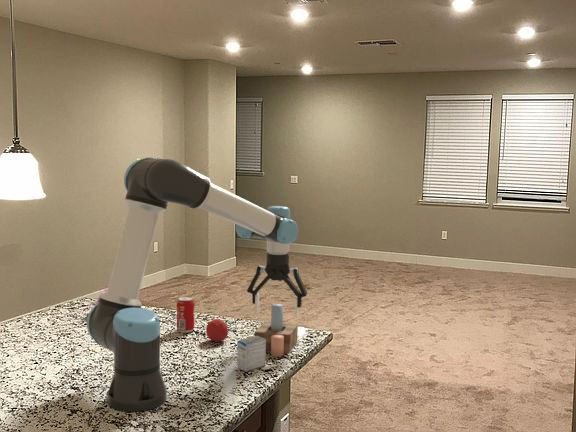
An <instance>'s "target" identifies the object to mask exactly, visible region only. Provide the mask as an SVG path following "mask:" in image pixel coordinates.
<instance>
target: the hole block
mask: <svg viewBox="0 0 576 432" xmlns="http://www.w3.org/2000/svg"><path fill="white" fill-rule="evenodd" d="M298 326H299V325H298V324H294V323H293V324H292V323H291V324H290V323H283V331H275V330H271V321H269V322H267V321H264V322H262V324H261V325H259V327H258V328H257V329H256V330H255V331H254V336H259V337H262V338H264V339H266V351H270V352H271V336H273V335H282V336H284V351H283V353H288V354H289V353H291V352H292V350H293V349H294V348H295V346H296V344H297V343H298V332H299V331H298Z"/></svg>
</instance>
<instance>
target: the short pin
mask: <svg viewBox="0 0 576 432" xmlns="http://www.w3.org/2000/svg"><path fill="white" fill-rule="evenodd" d="M283 351H284V336H282V335H273V336H271V351H270V355H271V356H272V357H275V358H276V357H277V358H279V357H283V356H284V352H283Z"/></svg>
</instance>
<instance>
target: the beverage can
mask: <svg viewBox="0 0 576 432" xmlns="http://www.w3.org/2000/svg"><path fill="white" fill-rule="evenodd" d="M194 329H195V301H194V299H193V297H192V296H191V297H190V296H181V297H179V298H178V300H177V302H176V330H177V331H178V332H179V333H185V334H187V333H192V332H193V330H194Z"/></svg>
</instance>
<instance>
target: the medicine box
mask: <svg viewBox="0 0 576 432" xmlns="http://www.w3.org/2000/svg"><path fill="white" fill-rule="evenodd" d="M236 346H237V350H236V351H237V353H236V354H237V355H236V359H237V361H236V363H237V365H236V367H237V369H239V370H242V371H244V372H249V371H252V370H254V369H255V370H256V369H258V368H261V367H264V366H266V353H267V352H266V351H267V350H266V339H264V338H262V337H259V336H255V335H253V336H250V337H246V338H243V339H239V340H237V345H236Z"/></svg>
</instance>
